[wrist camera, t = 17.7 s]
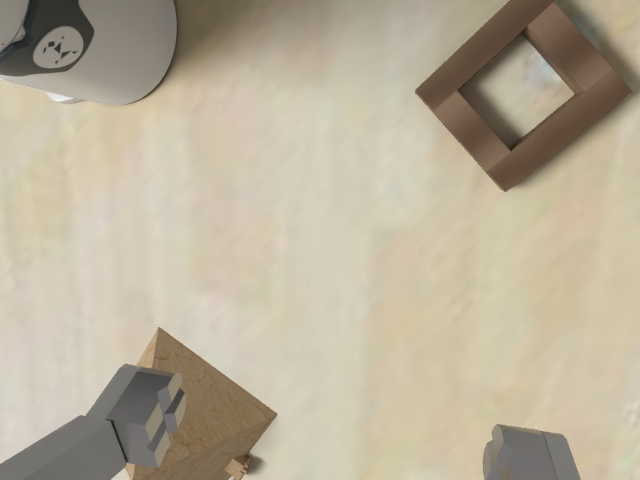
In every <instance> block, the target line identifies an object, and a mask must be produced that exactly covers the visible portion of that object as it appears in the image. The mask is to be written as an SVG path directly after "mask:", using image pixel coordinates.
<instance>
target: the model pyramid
mask: <svg viewBox="0 0 640 480" xmlns="http://www.w3.org/2000/svg"><path fill="white" fill-rule="evenodd" d="M136 366H142V367H146V368H152V369H158V370H163V371H169V372H174V373H180V374H181V378H182V381H183V382H182V384H181V386H180V388H181V389H182V390H183V391H184V392H185V396H186V408H185V411H184V415H183V418H182V421H181V423H180V425H179V427H178V429H176V430H175V431H173V432H172V433H171V434H169V440H170V446H169V448H168V450H167V452H166V454H165V456H164V458H163V460H162V462H161V464H160V466H159V468H154V467H148V466H141V465H135V464H129V463H127V466H126V467H125V469H126V471H127V473H128V475H129V477H130V479H131V480H228V479H229V478H230V476H231V475H232V476H233V477H235V478H234V480H241V479H242V477H243V476H244V475H245V473H246V472H247V468H248V467H249V463H250V461H251V459H252V457H250V456H249V457H247V456H246V455H247V454H248V453H249V451H250V450H251V449H252V447H253V446H254V445H255V443H256V442H257V441H258V439H259V438H260V437H261V435H262V434H263V433H264V432H265V430H266V429H267V428H268V426H269V425H270V424H271V422H272V421H273V420H274V418H275V417H276V416H277V413H276V412H274V411H273V410H271V409H270V408H269V407H267V406H266V405H265V404H263V403H262V402H261V401H259V400H258V399H256V398H255V397H254V396H252V395H251V394H250V393H248V392H247V391H246V390H244V389H243V388H242V387H240V386H239V385H237V384H236V383H235V382H233V381H232V380H231V379H229V378H228V377H227V376H225V375H224V374H222V373H221V372H220V371H218V370H217V369H216V368H214V367H213V366H212V365H210V364H209V363H207V362H206V361H205V360H203V359H202V358H201V357H199V356H198V355H197V354H195V353H194V352H192V351H191V350H190V349H188V348H187V347H186V346H184V345H183V344H182V343H180V342H179V341H177V340H176V339H175V338H173V337H172V336H171V335H169V334H168V333H167V332H165V331H164V330H162V329H161V328H160V327H158V329H157V331H156V333H155V334H154V336H153V338H152V339H151V341H150V343H149V345H148V346H147V348H146V350H145V351H144V353H143V355H142V357H141V358H140V360H139V362H138V364H137V365H136Z"/></svg>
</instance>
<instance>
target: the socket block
mask: <svg viewBox="0 0 640 480" xmlns="http://www.w3.org/2000/svg"><path fill="white" fill-rule="evenodd" d="M520 33H522V34H523V35H524V36H525V37H526V38H527V40H528V41H529V42H530V43H531V44H532V45H533V46H534V48H535V49H536V50H537V51H538V52H539V53H540V54H541V56H542V57H543V58H544V59H545V60H546V61H547V62H548V64H549V65H550V66H551V67H552V68H553V69H554V70H555V72H556V73H557V74H558V75H559V76H560V77H561V78H562V80H563V81H564V82H565V83H566V84H567V85H568V86H569V88H570V89H571V90H572V91H573V92H574V93H575V95H574V96H573V97H571V98H570V99H569V100H568V101H567V102H565V103H564V104H563V105H562V106H561V107H559V108H558V109H557V110H556V111H554V112H553V113H552V114H551V115H550V116H548V117H547V118H546V119H545V120H544V121H542V122H541V123H540V124H539V125H537V126H536V127H535V128H534V129H533V130H531V131H530V132H529V133H528V134H526V135H525V136H524V137H523V138H522V139H520V140H519V141H518V142H517V143H516V144H514V145H513V146H512V147H511V148H509V149H508V148H507V147H506V146H505V145H504V143H503V142H502V141H501V140H500V139H499V138H498V137H497V135H496V134H495V133H494V132H493V131H492V130H491V129H490V128H489V126H488V125H487V124H486V123H485V122H484V121H483V120H482V118H481V117H480V116H479V115H478V114H477V113H476V112H475V111H474V109H473V108H472V107H471V106H470V105H469V104H468V103H467V101H466V100H465V99H464V98H463V97H462V96H461V95H460V93H459V92H458V91H457V90H458V89H460V88H461V87H462V86H463V85H464V84H465V83H466V82H467V81H468V80H469V79H470V78H472V77H473V76H474V75H475V74H476V73H477V72H478V71H479V70H480V69H481V68H483V67H484V66H485V65H486V64H487V63H488V62H489V61H490V60H491V59H492V58H494V57H495V56H496V55H497V54H498V53H499V52H500V51H501V50H502V49H503V48H505V47H506V46H507V45H508V44H509V43H510V42H511V41H512V40H513V39H514V38H516V37H517V36H518V35H519V34H520ZM632 92H633V91H632V90H631V89H630V88H629V87H628V86H627V85H626V83H625V82H624V81H623V80H622V79H621V78H620V77H619V75H618V74H617V73H616V72H615V71H614V70H613V68H612V67H611V66H610V65H609V64H608V63H607V62H606V60H605V59H604V58H603V57H602V56H601V55H600V54H599V52H598V51H597V50H596V49H595V48H594V47H593V46H592V44H591V43H590V42H589V41H588V40H587V39H586V37H585V36H584V35H583V34H582V33H581V32H580V31H579V29H578V28H577V27H576V26H575V25H574V24H573V23H572V21H571V20H570V19H569V18H568V17H567V16H566V14H565V13H564V12H563V11H562V10H561V9H560V8H559V6H558V5H557V4H556V3H555V2H554V1H553V0H510V1H509V2H508V3H507V4H506V5H505V6H504V7H503V8H502V9H501V10H499V11H498V12H497V13H496V14H495V15H494V16H493V17H492V18H491V19H490V20H489V21H488V22H487V23H486V24H485V25H484V26H483V27H481V28H480V29H479V30H478V31H477V32H476V33H475V34H474V35H473V36H472V37H471V38H470V39H469V40H468V41H467V42H466V43H465V44H463V45H462V46H461V47H460V48H459V49H458V50H457V51H456V52H455V53H454V54H453V55H452V56H451V57H450V58H449V59H448V60H447V61H446V62H444V63H443V64H442V65H441V66H440V67H439V68H438V69H437V70H436V71H435V72H434V73H433V74H432V75H431V76H430V77H429V78H428V79H426V80H425V81H424V82H423V83H422V84H421V85H420V86H419V87H418V88H417V89H416V90H415V93H416V94H417V95H418V96H419V97H420V98H421V99H422V101H423V102H424V103H425V104H426V105H427V106H428V107H429V109H430V110H431V111H432V112H433V113H434V114H435V115H436V116H437V118H438V119H439V120H440V121H441V122H442V123H443V124H444V126H445V127H446V128H447V129H448V130H449V131H450V132H451V133H452V135H453V136H454V137H455V138H456V139H457V140H458V141H459V142H460V144H461V145H462V146H463V147H464V148H465V149H466V150H467V152H468V153H469V154H470V155H471V156H472V157H473V158H474V159H475V161H476V162H477V163H478V164H479V165H480V166H481V167H482V169H483V170H484V171H485V172H486V173H487V174H488V175H489V176H490V178H491V179H492V180H493V181H494V182H495V183H496V184H497V186H498V187H499V188H500V189H501V190H503V191H505V192H506V191H508V190H509V189H510V188H511V187H513V186H514V185H515V184H517V183H518V182H519V181H520V180H522V179H523V178H524V177H525V176H527V175H528V174H529V173H530V172H532V171H533V170H534V169H536V168H537V167H538V166H539V165H541V164H542V163H543V162H544V161H546V160H547V159H548V158H549V157H551V156H552V155H553V154H555V153H556V152H557V151H558V150H560V149H561V148H562V147H563V146H565V145H566V144H567V143H569V142H570V141H571V140H572V139H574V138H575V137H576V136H577V135H579V134H580V133H581V132H582V131H584V130H585V129H586V128H588V127H589V126H590V125H591V124H593V123H594V122H595V121H596V120H598V119H599V118H600V117H601V116H603V115H604V114H605V113H607V112H608V111H609V110H610V109H612V108H613V107H614V106H615V105H617V104H618V103H619V102H621V101H622V100H623V99H624V98H626V97H627V96H628V95H629V94H631V93H632Z"/></svg>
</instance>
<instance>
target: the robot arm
mask: <svg viewBox="0 0 640 480" xmlns="http://www.w3.org/2000/svg"><path fill="white" fill-rule="evenodd" d="M176 36H177V20H176V11H175V6H174V1H173V0H0V80H2V81H5V82H9V83H13V84H17V85H20V86H24V87H28V88H32V89H36V90H40V91H44V92H46V94H47V95H48V96H49V98H50V99H51V100H53V101H55V102H59V103H63V104H69V103H75V102H79V101H83V100H87V101H92V102H96V103H100V104H104V105H124V104H129V103H132V102H134V101H137V100H139V99H141V98H142V97H144V96H145V95H147V94H148V93H149V92H151V91H152V90H153V89H154V88H155V87H156V86H157V85H158V83H159V82H160V81H161V79H162V78H163V76H164V75H165V73H166V71H167V69H168V67H169V65H170V62H171V60H172V57H173V53H174V49H175V44H176ZM182 382H183V381H182V378H181V374H180V373H174V372H169V371H163V370H158V369H152V368H146V367H142V366H136V365H129V364H124V365H123V366H122V367H121V368H119V369H118V371H117V372H116V374H115V375H114V376H113V378H112V379H111V381H110V382H109V383H108V385H107V386H106V388H105V389H104V391H103V392H102V393H101V395H100V396H99V398H98V399H97V400H96V402H95V403H94V405H93V406H92V407H91V409H90V410H89V412H88V413H87V414H86V416H82V415H80V416H78V417H76V418H75V419H73V420H72V421H70V422H68V423H67V424H65V425H63V426H62V427H60V428H59V429H57V430H55V431H54V432H52V433H50V434H49V435H47V436H45V437H44V438H42V439H41V440H39V441H37V442H36V443H34V444H32V445H31V446H29V447H27V448H26V449H24V450H23V451H21V452H19V453H18V454H16V455H14V456H13V457H11V458H9V459H8V460H6V461H5V462H3V463H1V464H0V480H111V479H112V478H113V477H114V476H115V475H116V474H118V473H119V472H120V471H121V470H122V469H123V468H125V467H126V466H127V463H129V464H135V465H141V466H148V467H154V468H159V466H160V464H161V462H162V460H163V458H164V456H165V454H166V452H167V450H168V448H169V446H170V440H169V434H171V433H172V432H173V431H175V430H176V429H178V427H179V425H180V423H181V421H182V418H183V415H184V411H185V408H186V396H185V392H184V391H183V390H182V389H181V388H180V386H181V384H182ZM492 438H493V440H492V441H490V442H488V443H487V444H486V447H485V450H484V455H483V474H484V480H581V479H580V476H579V473H578V470H577V468H576V465H575V462H574V459H573V456H572V453H571V451H570V448H569V445H568V442H567V439H566V438H565V437H564V436H563V435H562V434H558V433H550V432H543V431H539V430H535V429H528V428H521V427H514V426H507V425H501V424H497V425H495V426H494V428H493V430H492Z"/></svg>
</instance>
